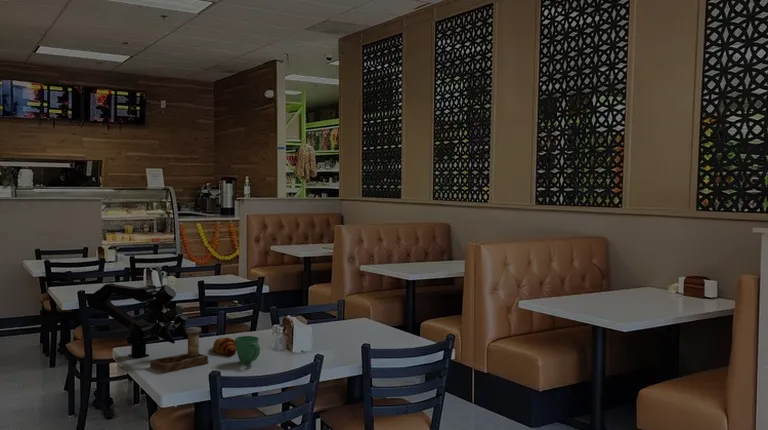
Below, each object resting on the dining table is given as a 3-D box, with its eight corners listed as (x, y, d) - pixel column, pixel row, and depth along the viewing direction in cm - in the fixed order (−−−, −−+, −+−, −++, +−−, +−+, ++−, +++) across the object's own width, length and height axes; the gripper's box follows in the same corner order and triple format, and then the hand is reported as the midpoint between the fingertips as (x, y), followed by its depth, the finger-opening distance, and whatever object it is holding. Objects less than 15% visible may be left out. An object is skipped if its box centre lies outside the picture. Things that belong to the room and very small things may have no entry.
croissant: (211, 354, 301) (203, 340, 299) (229, 342, 306) (222, 328, 304) (227, 364, 284) (219, 349, 281) (247, 351, 288) (239, 336, 286)
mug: (230, 361, 277) (230, 337, 277) (250, 357, 284) (251, 334, 283) (247, 369, 266) (247, 344, 266) (268, 365, 273) (268, 341, 272)
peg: (182, 359, 274) (183, 328, 273) (197, 357, 278) (197, 326, 277) (189, 363, 269) (189, 331, 269) (203, 360, 273) (203, 329, 273)
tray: (165, 373, 258) (165, 365, 258) (150, 367, 265) (150, 360, 265) (208, 363, 273) (208, 356, 273) (193, 358, 280) (193, 351, 280)
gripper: (157, 303, 267) (179, 333, 264) (184, 296, 285) (205, 324, 282) (140, 320, 270) (162, 350, 267) (168, 312, 288) (189, 340, 285)
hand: (180, 340), depth 275 cm, fingers open, 9 cm apart
